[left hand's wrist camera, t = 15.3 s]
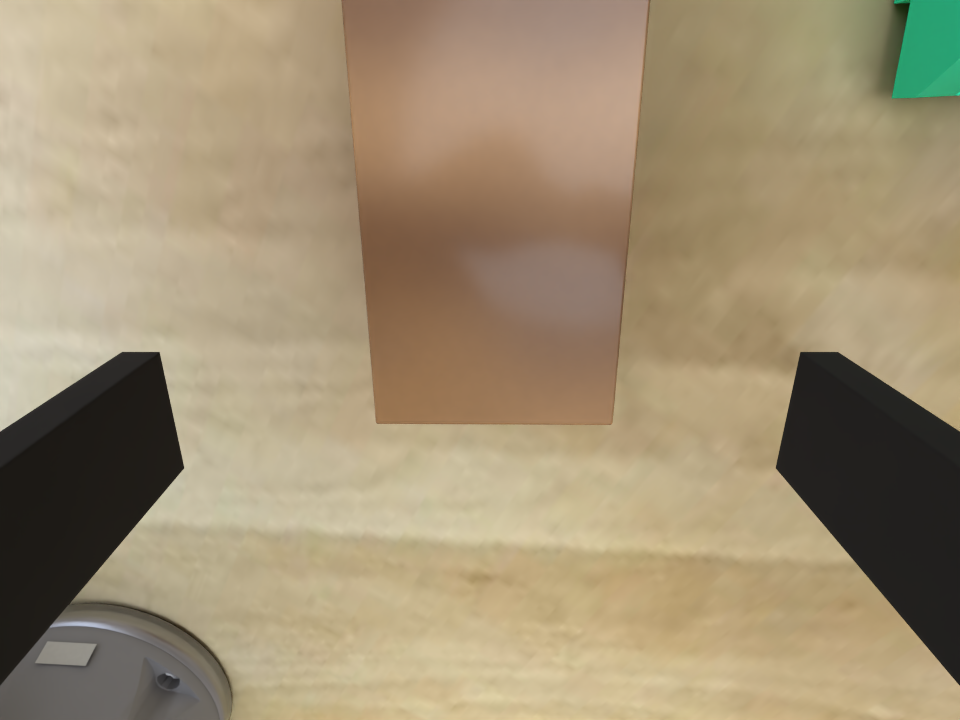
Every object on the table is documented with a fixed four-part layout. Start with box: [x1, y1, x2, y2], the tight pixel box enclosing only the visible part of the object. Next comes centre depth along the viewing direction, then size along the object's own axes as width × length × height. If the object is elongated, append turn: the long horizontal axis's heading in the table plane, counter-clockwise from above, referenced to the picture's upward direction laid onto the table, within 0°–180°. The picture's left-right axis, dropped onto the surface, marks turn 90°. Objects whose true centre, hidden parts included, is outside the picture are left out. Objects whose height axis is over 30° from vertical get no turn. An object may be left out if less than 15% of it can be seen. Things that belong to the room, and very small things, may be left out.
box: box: [342, 0, 650, 425], centre depth 21 cm, size 22×8×12 cm, turn 0°
